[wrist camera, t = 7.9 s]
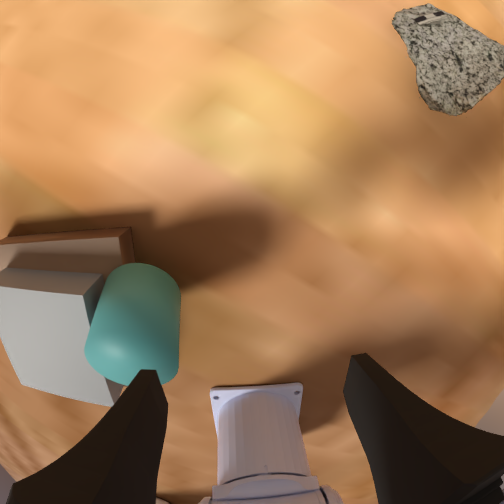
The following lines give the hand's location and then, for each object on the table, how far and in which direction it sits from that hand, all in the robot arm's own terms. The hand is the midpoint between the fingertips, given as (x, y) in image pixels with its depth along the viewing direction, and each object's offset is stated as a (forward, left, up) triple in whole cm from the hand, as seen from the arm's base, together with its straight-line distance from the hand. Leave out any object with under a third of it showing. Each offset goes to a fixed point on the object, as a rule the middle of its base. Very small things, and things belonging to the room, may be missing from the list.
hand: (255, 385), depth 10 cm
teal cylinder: (-1, +6, -3) cm, 7 cm away
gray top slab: (-3, +14, -8) cm, 16 cm away
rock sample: (+20, -13, -11) cm, 26 cm away
